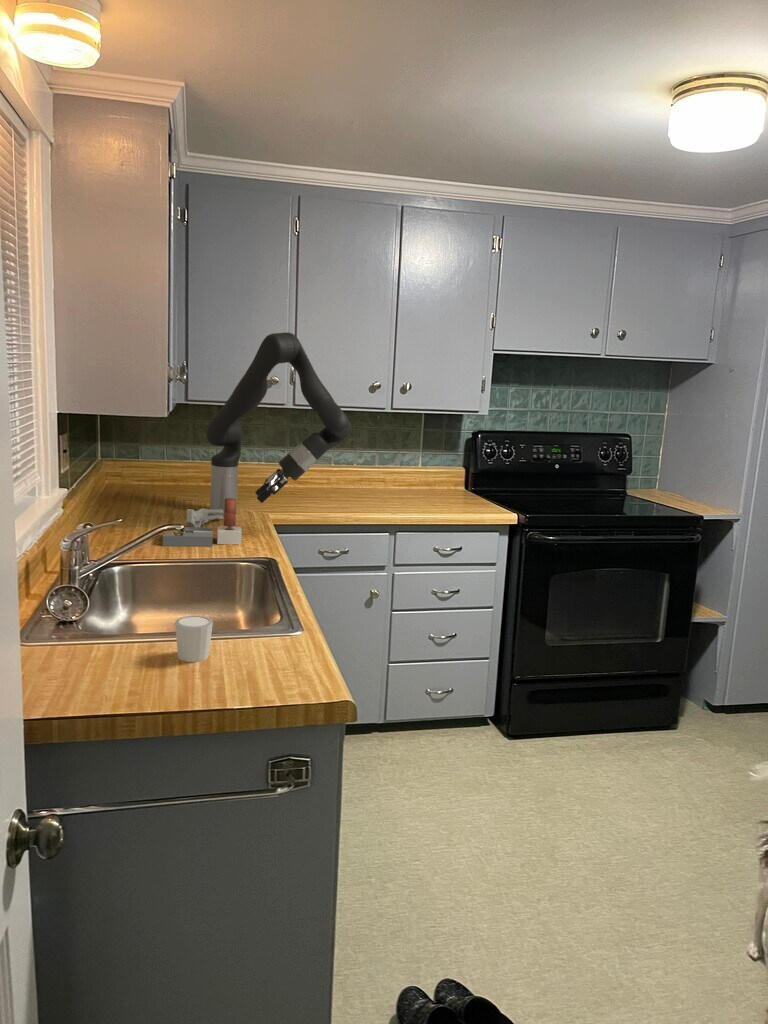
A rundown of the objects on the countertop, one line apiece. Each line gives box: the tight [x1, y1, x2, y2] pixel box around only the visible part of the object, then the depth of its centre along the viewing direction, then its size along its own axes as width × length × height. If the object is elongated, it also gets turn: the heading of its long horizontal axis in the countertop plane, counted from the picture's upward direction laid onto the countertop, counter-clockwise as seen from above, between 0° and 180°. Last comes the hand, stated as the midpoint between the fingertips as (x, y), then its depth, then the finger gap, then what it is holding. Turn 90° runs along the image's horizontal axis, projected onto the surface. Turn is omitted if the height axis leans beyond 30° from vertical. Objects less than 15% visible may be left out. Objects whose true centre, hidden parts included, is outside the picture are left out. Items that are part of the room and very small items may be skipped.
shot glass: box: [175, 615, 214, 663], centre depth 145 cm, size 7×7×7 cm
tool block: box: [216, 525, 243, 546], centre depth 232 cm, size 7×7×4 cm
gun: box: [185, 508, 224, 527], centre depth 249 cm, size 2×30×8 cm, turn 173°
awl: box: [223, 498, 237, 530], centre depth 231 cm, size 3×3×13 cm
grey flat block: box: [162, 526, 214, 548], centre depth 230 cm, size 12×14×3 cm
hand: (258, 497), depth 232 cm, fingers open, 8 cm apart
